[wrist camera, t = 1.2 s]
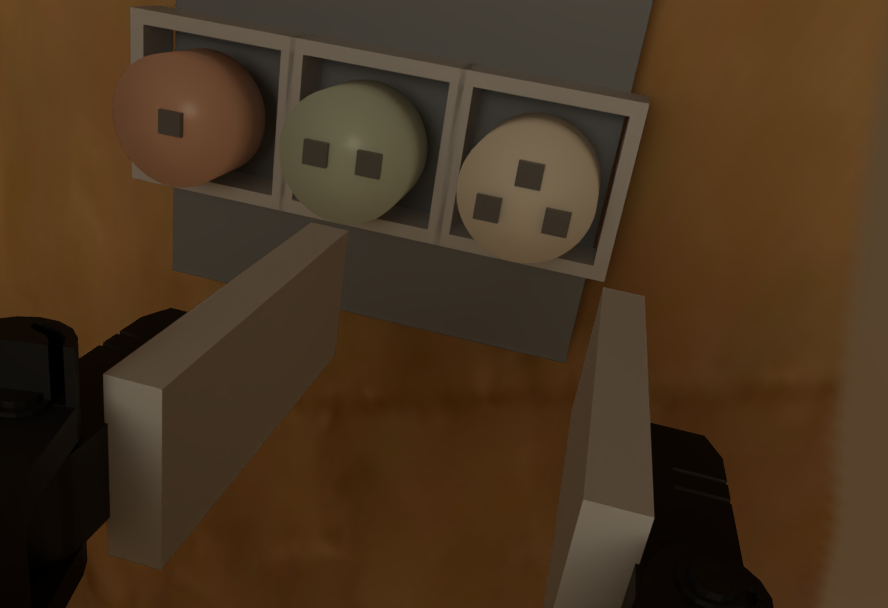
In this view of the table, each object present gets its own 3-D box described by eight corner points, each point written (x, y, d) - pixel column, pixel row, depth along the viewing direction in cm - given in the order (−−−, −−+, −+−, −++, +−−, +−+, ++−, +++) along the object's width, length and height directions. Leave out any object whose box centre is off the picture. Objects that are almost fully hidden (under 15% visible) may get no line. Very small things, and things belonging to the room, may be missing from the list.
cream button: (461, 226, 28) (445, 248, 25) (483, 101, 26) (467, 112, 23) (584, 252, 27) (579, 278, 25) (614, 126, 25) (612, 141, 23)
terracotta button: (153, 159, 29) (110, 175, 27) (153, 37, 28) (107, 42, 25) (262, 182, 29) (227, 200, 26) (269, 60, 27) (233, 67, 25)
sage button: (302, 191, 29) (272, 211, 26) (312, 68, 27) (281, 76, 24) (418, 217, 28) (398, 238, 25) (436, 92, 26) (416, 102, 24)
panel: (184, 252, 35) (132, 283, 32) (191, -120, 29) (128, -135, 26) (582, 345, 33) (576, 390, 29) (680, -42, 27) (687, -47, 23)
